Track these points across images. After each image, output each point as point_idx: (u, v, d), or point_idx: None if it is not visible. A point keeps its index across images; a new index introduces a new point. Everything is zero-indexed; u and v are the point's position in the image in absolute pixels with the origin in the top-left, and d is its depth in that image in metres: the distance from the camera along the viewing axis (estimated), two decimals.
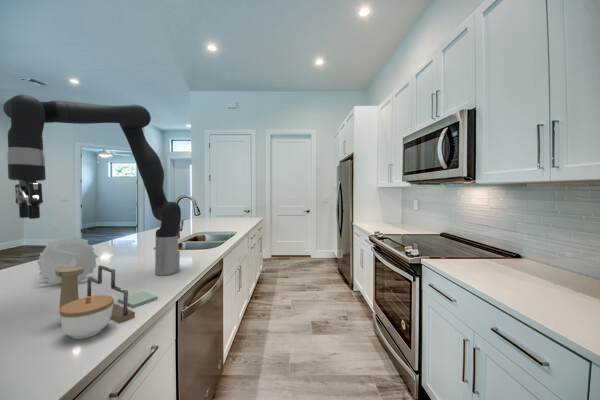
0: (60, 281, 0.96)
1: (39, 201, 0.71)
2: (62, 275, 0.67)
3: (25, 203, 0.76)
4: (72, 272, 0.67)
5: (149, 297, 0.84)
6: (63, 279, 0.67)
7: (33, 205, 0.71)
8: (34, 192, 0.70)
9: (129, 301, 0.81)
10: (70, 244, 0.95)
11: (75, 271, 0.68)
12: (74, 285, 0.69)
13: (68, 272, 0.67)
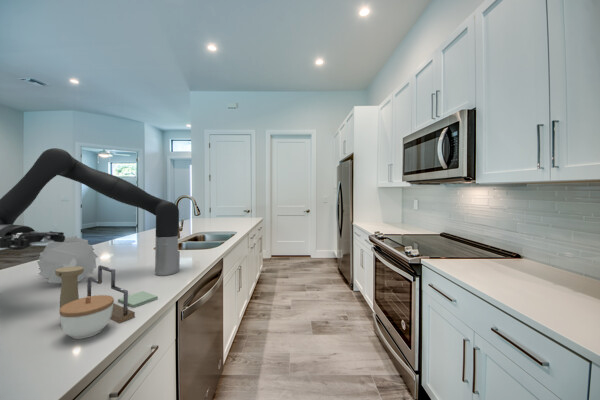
0: (60, 281, 0.96)
1: (0, 241, 0.67)
2: (62, 275, 0.67)
3: (53, 237, 0.77)
4: (72, 272, 0.67)
5: (149, 297, 0.84)
6: (63, 279, 0.67)
7: (10, 244, 0.68)
8: None
9: (129, 301, 0.81)
10: (70, 244, 0.95)
11: (75, 271, 0.68)
12: (74, 285, 0.69)
13: (68, 272, 0.67)
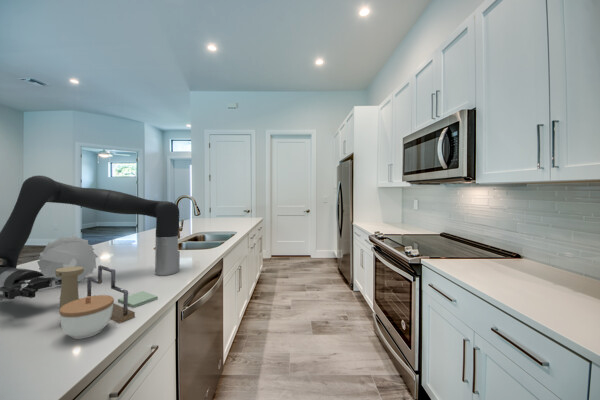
0: None
1: (8, 293, 0.66)
2: (62, 275, 0.67)
3: (61, 281, 0.76)
4: (72, 272, 0.67)
5: (149, 297, 0.84)
6: (63, 279, 0.67)
7: (19, 294, 0.67)
8: (3, 294, 0.67)
9: (129, 301, 0.81)
10: (70, 244, 0.95)
11: (75, 271, 0.68)
12: (74, 285, 0.69)
13: (68, 272, 0.67)
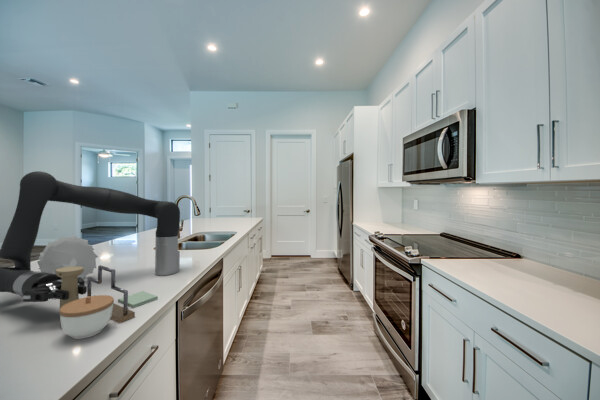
0: None
1: (43, 295, 0.65)
2: (62, 275, 0.67)
3: None
4: (72, 272, 0.67)
5: (149, 297, 0.84)
6: (63, 279, 0.67)
7: (52, 296, 0.66)
8: (32, 298, 0.65)
9: (129, 301, 0.81)
10: (70, 244, 0.95)
11: (75, 271, 0.68)
12: (74, 285, 0.69)
13: (68, 272, 0.67)
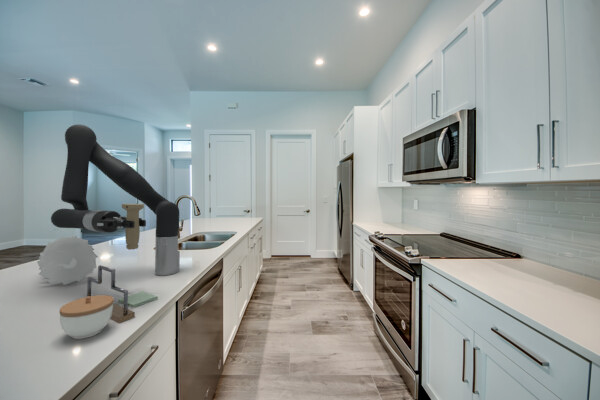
0: (60, 281, 0.96)
1: (114, 222, 0.78)
2: (128, 207, 0.79)
3: None
4: (136, 205, 0.80)
5: (149, 297, 0.84)
6: (129, 211, 0.80)
7: (120, 225, 0.79)
8: (105, 225, 0.78)
9: (129, 301, 0.81)
10: (70, 244, 0.95)
11: (138, 205, 0.80)
12: (137, 218, 0.81)
13: (133, 205, 0.79)
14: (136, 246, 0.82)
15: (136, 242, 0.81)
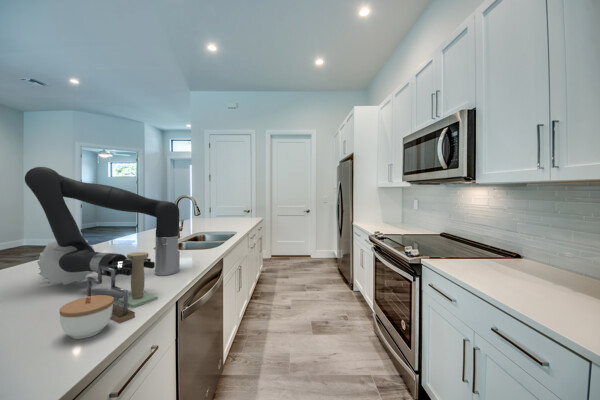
0: (60, 281, 0.96)
1: None
2: (133, 258, 0.81)
3: (144, 263, 0.88)
4: (141, 256, 0.82)
5: (149, 297, 0.84)
6: (134, 262, 0.82)
7: (118, 273, 0.79)
8: (105, 273, 0.79)
9: (129, 301, 0.81)
10: None
11: (143, 255, 0.82)
12: (142, 267, 0.83)
13: (138, 256, 0.81)
14: (141, 295, 0.84)
15: (141, 291, 0.83)
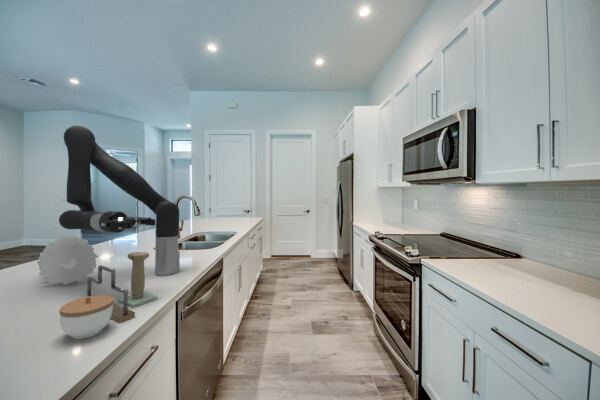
0: (60, 281, 0.96)
1: (111, 223, 0.78)
2: (134, 258, 0.81)
3: (144, 221, 0.88)
4: (141, 256, 0.82)
5: (149, 297, 0.84)
6: (134, 262, 0.82)
7: (118, 225, 0.79)
8: (105, 225, 0.79)
9: (129, 301, 0.81)
10: (70, 244, 0.95)
11: (144, 255, 0.82)
12: (142, 267, 0.83)
13: (139, 256, 0.82)
14: (141, 295, 0.84)
15: (141, 291, 0.83)
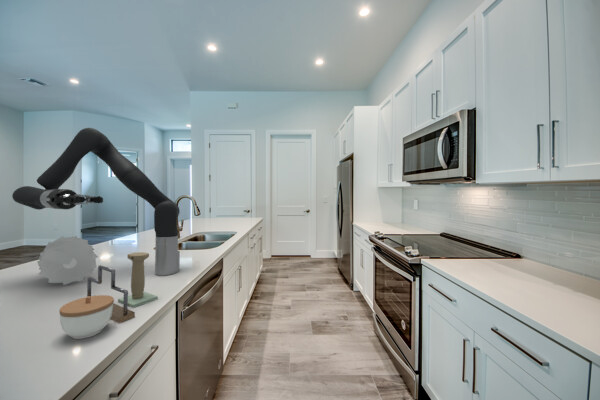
0: (60, 281, 0.96)
1: (55, 198, 0.82)
2: (134, 258, 0.81)
3: (93, 199, 0.92)
4: (141, 256, 0.82)
5: (149, 297, 0.84)
6: (134, 262, 0.82)
7: (62, 200, 0.83)
8: (50, 200, 0.83)
9: (129, 301, 0.81)
10: (70, 244, 0.95)
11: (144, 255, 0.82)
12: (142, 267, 0.83)
13: (139, 256, 0.81)
14: (141, 295, 0.84)
15: (141, 291, 0.83)
